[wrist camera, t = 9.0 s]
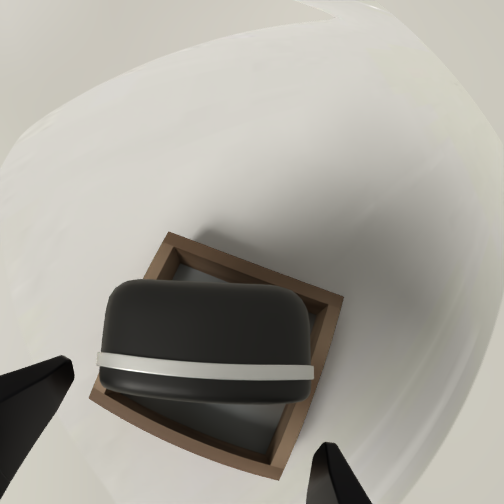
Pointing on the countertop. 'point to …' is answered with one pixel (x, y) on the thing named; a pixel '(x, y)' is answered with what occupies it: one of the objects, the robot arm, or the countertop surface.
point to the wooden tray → (228, 415)
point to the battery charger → (206, 342)
